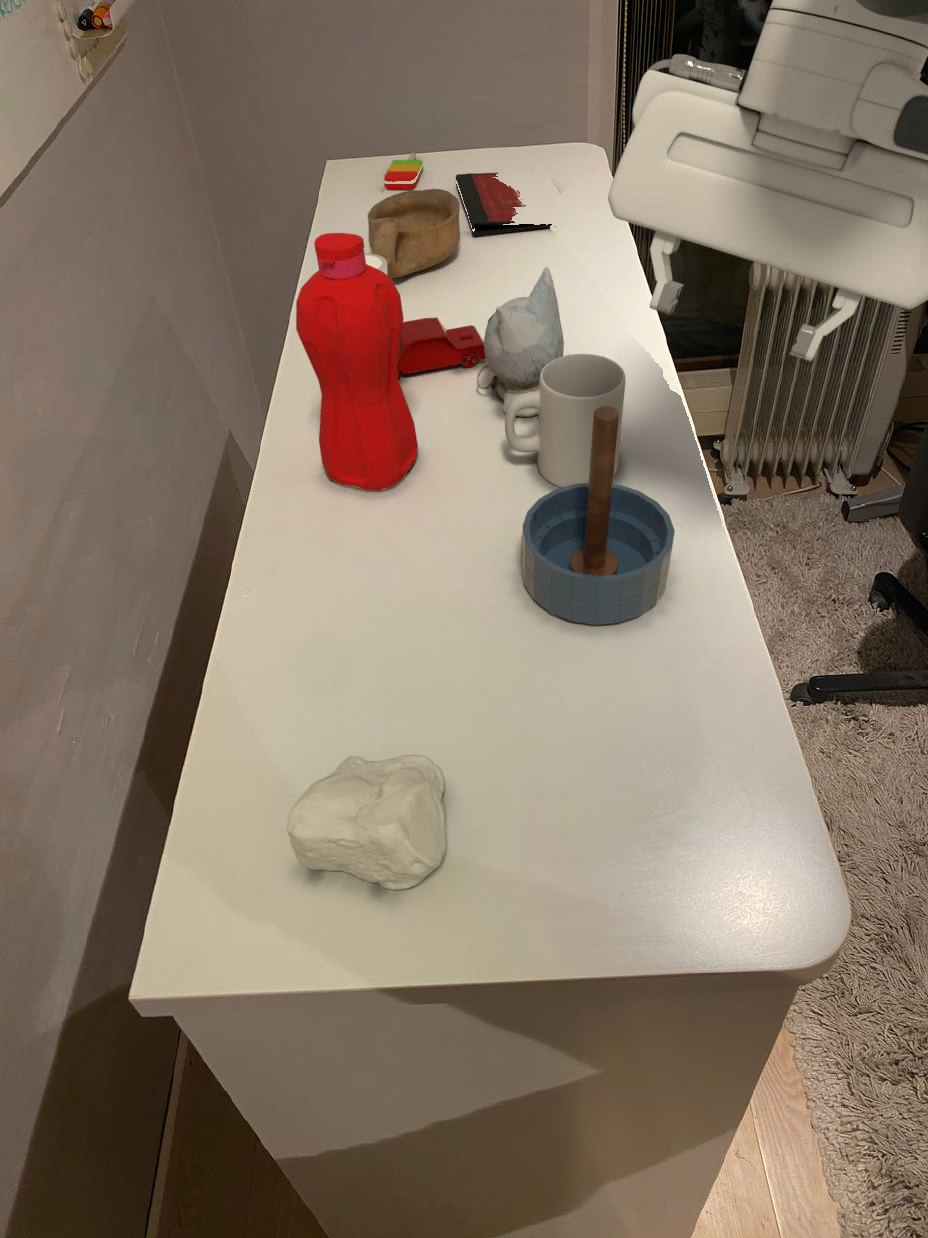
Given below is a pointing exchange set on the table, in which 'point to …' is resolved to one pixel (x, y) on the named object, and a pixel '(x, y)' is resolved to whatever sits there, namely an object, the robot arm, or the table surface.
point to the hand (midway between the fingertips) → (729, 333)
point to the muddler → (599, 497)
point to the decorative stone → (373, 821)
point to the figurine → (523, 342)
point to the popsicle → (403, 173)
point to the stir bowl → (632, 538)
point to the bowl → (414, 229)
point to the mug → (568, 415)
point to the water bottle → (356, 365)
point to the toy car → (437, 346)
